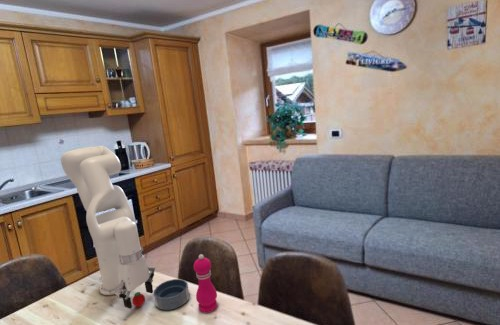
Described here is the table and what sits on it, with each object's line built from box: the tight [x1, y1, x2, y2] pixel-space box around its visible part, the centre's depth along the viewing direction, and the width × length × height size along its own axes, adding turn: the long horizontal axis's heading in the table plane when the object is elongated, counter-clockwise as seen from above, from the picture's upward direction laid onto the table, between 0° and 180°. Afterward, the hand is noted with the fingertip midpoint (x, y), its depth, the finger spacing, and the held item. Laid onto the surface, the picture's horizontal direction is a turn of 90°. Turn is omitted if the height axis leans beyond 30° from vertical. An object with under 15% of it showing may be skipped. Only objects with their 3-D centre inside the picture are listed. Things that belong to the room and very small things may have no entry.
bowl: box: [153, 278, 190, 311], centre depth 116 cm, size 12×12×5 cm
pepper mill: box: [193, 253, 218, 314], centre depth 109 cm, size 7×7×20 cm
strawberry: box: [131, 291, 146, 307], centre depth 116 cm, size 4×4×5 cm
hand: (139, 299), depth 115 cm, fingers open, 9 cm apart
